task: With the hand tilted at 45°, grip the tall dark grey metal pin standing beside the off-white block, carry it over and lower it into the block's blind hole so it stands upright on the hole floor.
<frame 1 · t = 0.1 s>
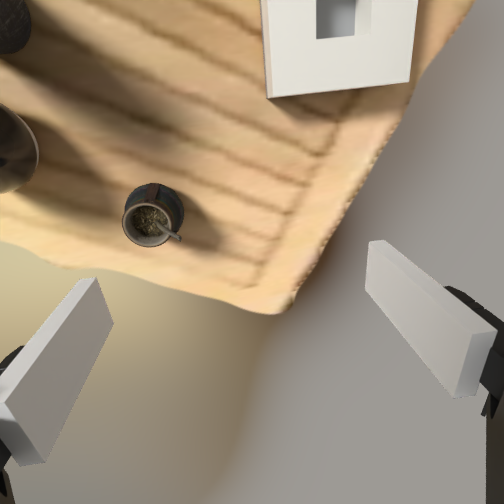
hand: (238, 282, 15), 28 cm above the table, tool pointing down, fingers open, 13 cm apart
mate gourd: (161, 204, 41), on the table
hole block: (327, 16, 33), on the table
pump dispenser: (7, 141, 36), on the table
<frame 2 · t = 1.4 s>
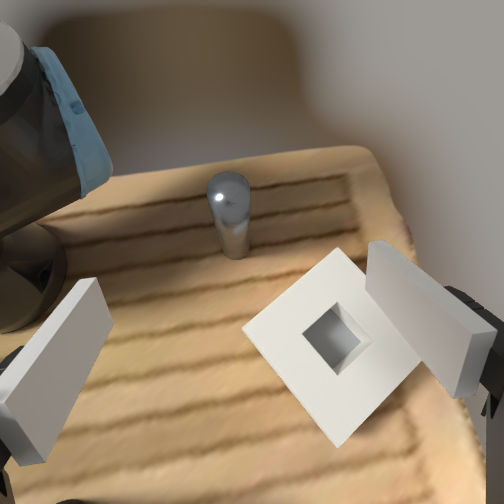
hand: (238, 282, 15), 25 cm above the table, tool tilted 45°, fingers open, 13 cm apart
hole block: (326, 339, 37), on the table
pin: (235, 246, 41), on the table
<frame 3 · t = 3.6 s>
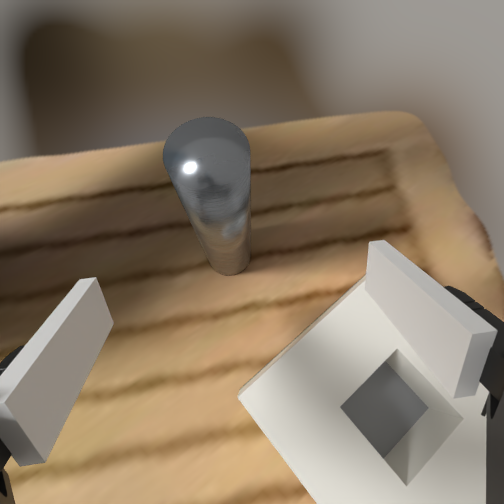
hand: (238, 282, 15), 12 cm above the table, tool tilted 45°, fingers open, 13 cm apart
hole block: (371, 401, 24), on the table
pin: (229, 254, 28), on the table
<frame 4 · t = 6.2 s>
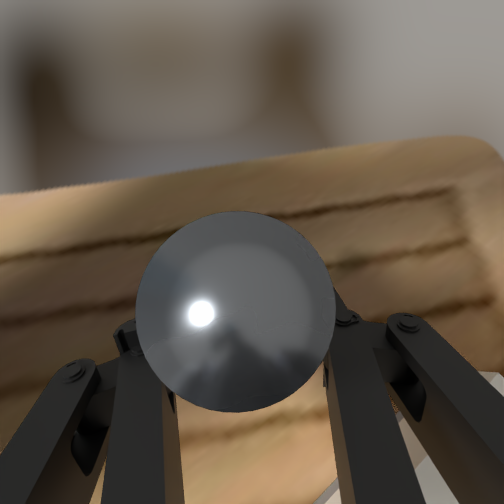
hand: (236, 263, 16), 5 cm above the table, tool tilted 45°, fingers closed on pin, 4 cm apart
pin: (246, 338, 20), on the table, touching gripper
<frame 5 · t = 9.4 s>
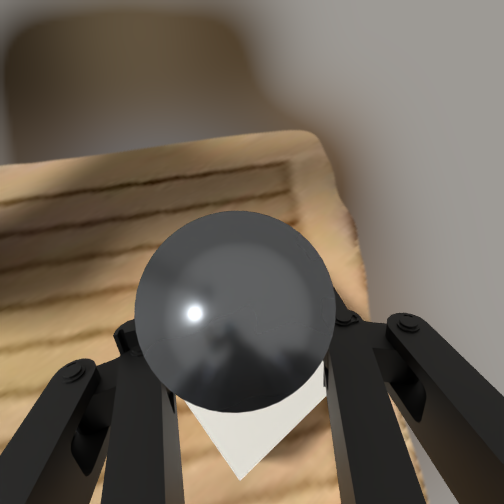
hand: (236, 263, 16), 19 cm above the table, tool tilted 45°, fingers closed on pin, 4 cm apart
hole block: (251, 347, 33), on the table
pin: (246, 338, 20), point 13 cm above the table, touching gripper
when the fingers open (7 cm above the table, at t = 12.6 s): pin stays where it is, resting on hole block.
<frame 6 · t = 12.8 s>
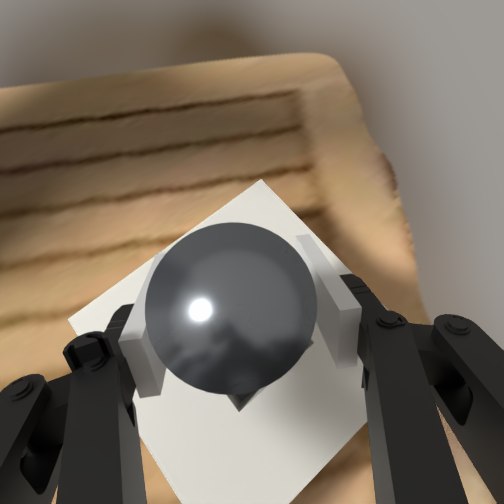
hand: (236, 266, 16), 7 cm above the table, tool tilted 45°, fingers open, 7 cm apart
hole block: (247, 340, 22), on the table
pin: (247, 340, 21), point 1 cm above the table, touching hole block
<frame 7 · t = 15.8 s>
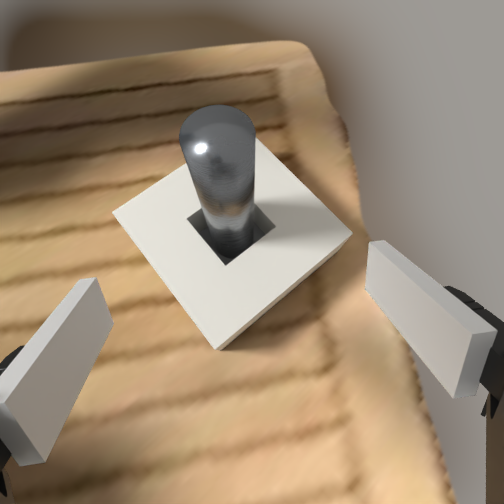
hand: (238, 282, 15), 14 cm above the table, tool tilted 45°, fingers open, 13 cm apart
hole block: (234, 242, 31), on the table
pin: (233, 239, 30), point 1 cm above the table, touching hole block
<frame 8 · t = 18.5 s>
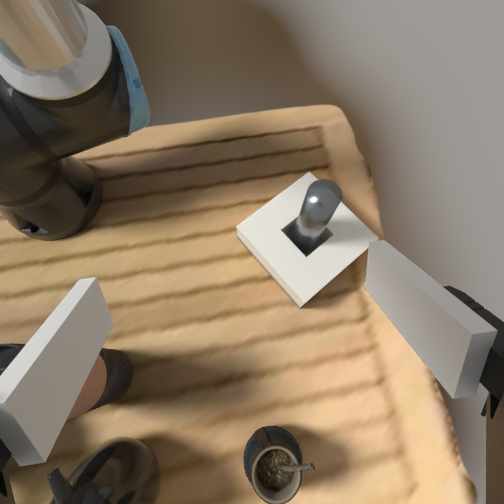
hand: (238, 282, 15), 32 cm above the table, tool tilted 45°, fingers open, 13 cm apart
mate gourd: (272, 450, 40), on the table
hole block: (301, 243, 49), on the table
pump dispenser: (129, 473, 39), on the table
pin: (302, 241, 48), point 1 cm above the table, touching hole block
travel mug: (108, 375, 43), on the table
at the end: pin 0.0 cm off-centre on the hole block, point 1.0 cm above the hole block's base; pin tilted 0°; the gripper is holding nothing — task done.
